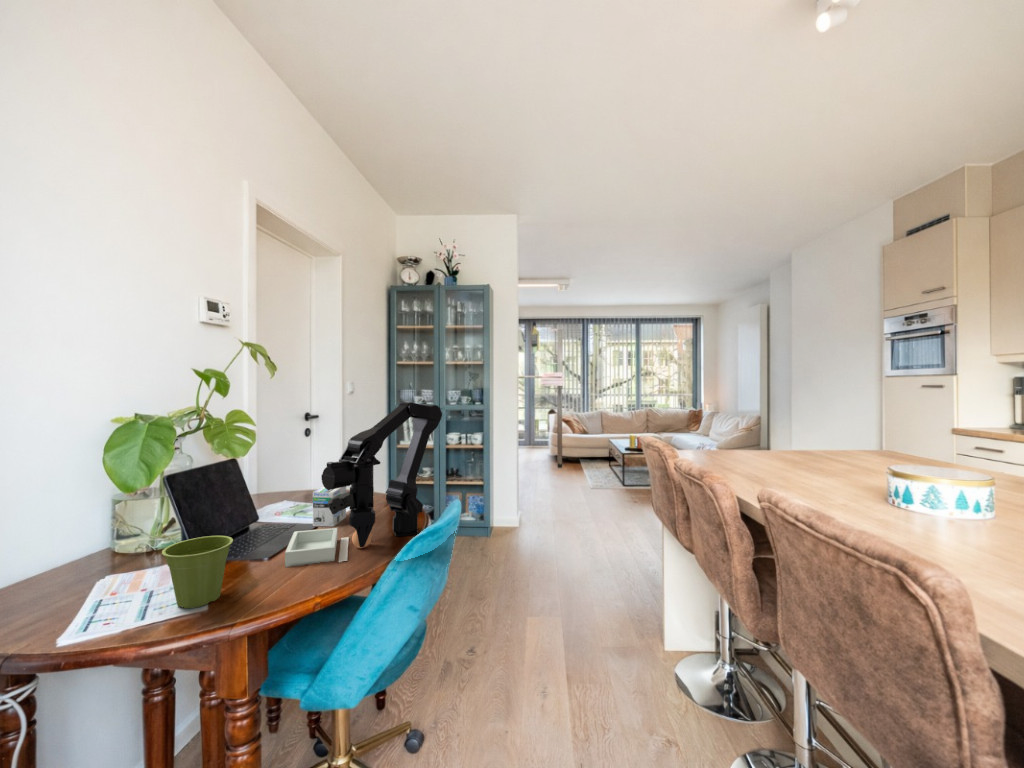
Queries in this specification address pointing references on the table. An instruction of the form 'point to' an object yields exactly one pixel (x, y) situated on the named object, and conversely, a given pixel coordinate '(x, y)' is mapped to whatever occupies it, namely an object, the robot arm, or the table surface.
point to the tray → (311, 547)
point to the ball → (356, 542)
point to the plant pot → (197, 569)
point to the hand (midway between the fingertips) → (361, 541)
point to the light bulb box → (326, 507)
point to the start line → (343, 549)
